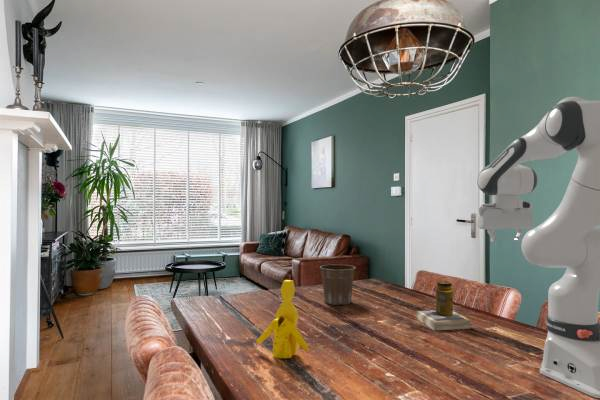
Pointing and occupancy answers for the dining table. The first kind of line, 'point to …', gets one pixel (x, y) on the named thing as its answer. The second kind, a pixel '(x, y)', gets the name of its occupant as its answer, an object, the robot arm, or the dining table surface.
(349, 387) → the dining table surface
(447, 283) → the condiment
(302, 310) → the dining table surface
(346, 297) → the plant pot
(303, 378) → the dining table surface
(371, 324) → the dining table surface
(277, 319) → the figure statuette
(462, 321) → the base
